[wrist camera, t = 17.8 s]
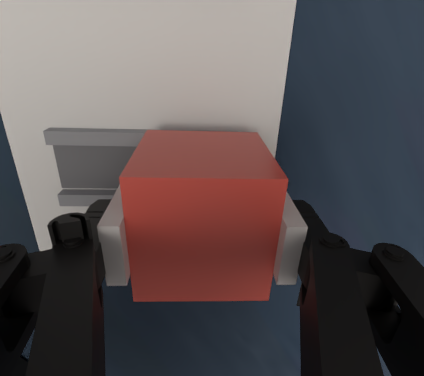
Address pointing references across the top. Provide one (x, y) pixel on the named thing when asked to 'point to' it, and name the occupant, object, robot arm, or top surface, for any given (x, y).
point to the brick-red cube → (202, 216)
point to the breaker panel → (130, 85)
